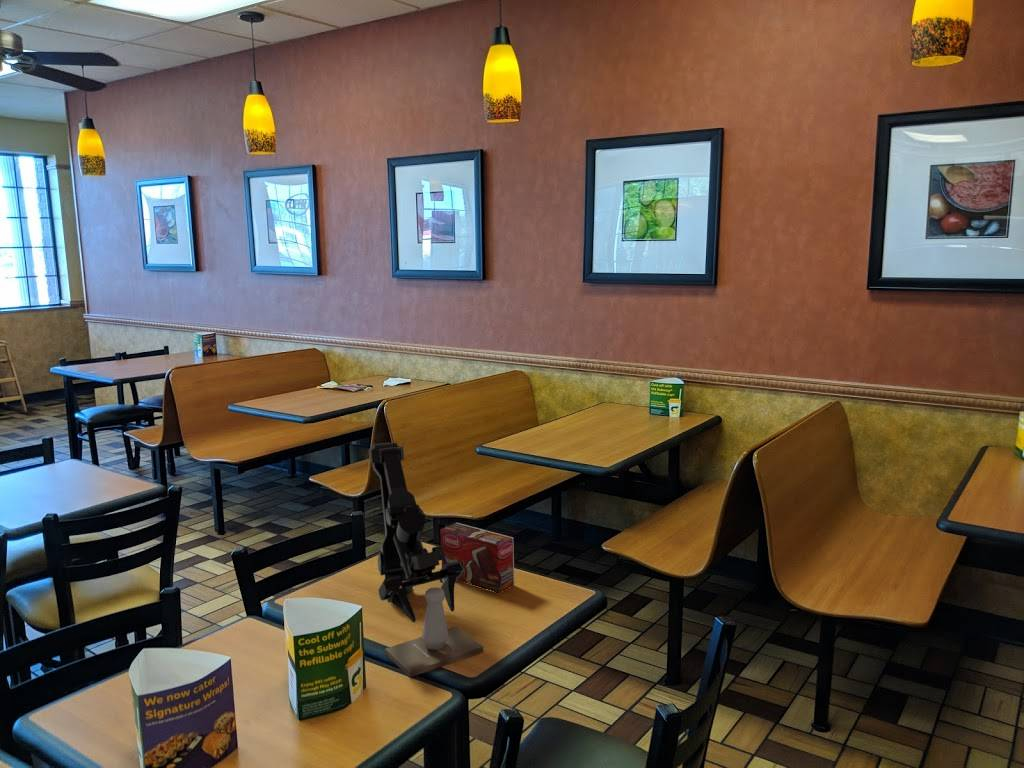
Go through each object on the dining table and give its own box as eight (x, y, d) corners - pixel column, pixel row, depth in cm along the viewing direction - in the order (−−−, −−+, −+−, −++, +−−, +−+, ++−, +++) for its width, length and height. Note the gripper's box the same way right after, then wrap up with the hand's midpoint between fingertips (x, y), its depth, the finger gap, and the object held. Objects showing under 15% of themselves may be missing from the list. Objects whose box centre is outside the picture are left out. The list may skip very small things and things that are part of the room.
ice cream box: (514, 586, 205) (513, 537, 203) (499, 594, 200) (497, 545, 198) (457, 568, 217) (456, 522, 215) (442, 576, 212) (440, 529, 210)
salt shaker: (442, 653, 168) (442, 596, 167) (418, 650, 170) (417, 593, 168) (452, 641, 174) (451, 586, 172) (428, 638, 176) (427, 583, 174)
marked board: (456, 630, 181) (456, 625, 181) (483, 651, 172) (483, 646, 171) (385, 653, 172) (384, 648, 171) (409, 677, 162) (409, 671, 162)
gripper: (380, 544, 167) (403, 612, 159) (458, 527, 176) (483, 590, 168) (369, 566, 175) (390, 632, 167) (444, 549, 184) (467, 610, 176)
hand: (434, 616), depth 170 cm, fingers open, 9 cm apart
